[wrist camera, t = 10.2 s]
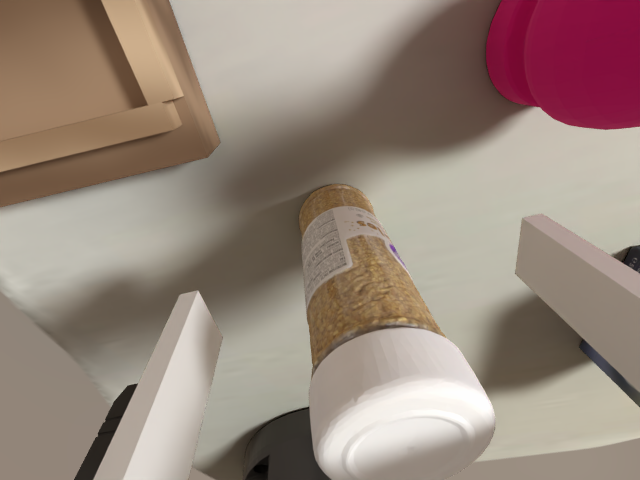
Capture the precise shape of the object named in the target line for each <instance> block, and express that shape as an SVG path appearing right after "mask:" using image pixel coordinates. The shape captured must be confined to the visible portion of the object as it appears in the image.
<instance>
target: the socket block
mask: <svg viewBox="0 0 640 480" xmlns="http://www.w3.org/2000/svg"><path fill="white" fill-rule="evenodd" d="M219 144H220V140H219V137H218V134H217V132H216V129H215V126H214V123H213V121H212V118H211V115H210V112H209V110H208V107H207V104H206V101H205V99H204V96H203V93H202V90H201V88H200V85H199V82H198V79H197V76H196V74H195V71H194V68H193V65H192V63H191V60H190V57H189V54H188V52H187V49H186V46H185V43H184V41H183V38H182V35H181V32H180V30H179V27H178V24H177V21H176V19H175V16H174V13H173V10H172V8H171V5H170V2H169V0H0V207H3V206H7V205H11V204H16V203H20V202H24V201H28V200H32V199H36V198H41V197H45V196H49V195H53V194H57V193H61V192H66V191H70V190H74V189H78V188H82V187H86V186H91V185H95V184H99V183H103V182H107V181H111V180H116V179H120V178H124V177H128V176H132V175H136V174H141V173H145V172H149V171H153V170H157V169H161V168H166V167H170V166H174V165H178V164H182V163H186V162H191V161H195V160H199V159H203V158H207V157H209V155H210V154H211V153H212V152H213V151H214V150H215V148H216V147H217V146H218V145H219Z"/></svg>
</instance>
